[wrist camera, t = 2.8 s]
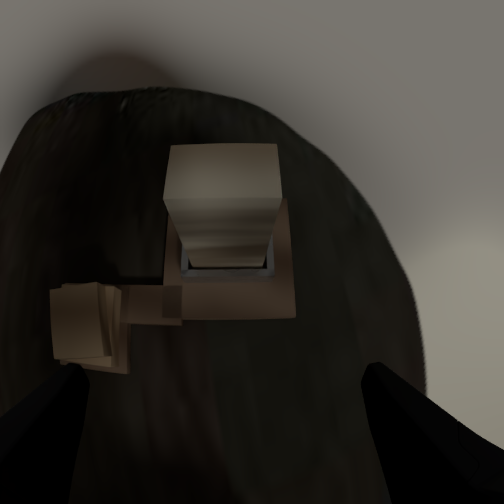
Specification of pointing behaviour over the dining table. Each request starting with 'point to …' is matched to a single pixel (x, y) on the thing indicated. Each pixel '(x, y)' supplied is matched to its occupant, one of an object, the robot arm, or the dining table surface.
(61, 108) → the dining table surface
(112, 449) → the dining table surface
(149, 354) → the dining table surface
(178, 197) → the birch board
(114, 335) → the lower offcut
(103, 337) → the upper offcut
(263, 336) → the dining table surface
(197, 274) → the rack
